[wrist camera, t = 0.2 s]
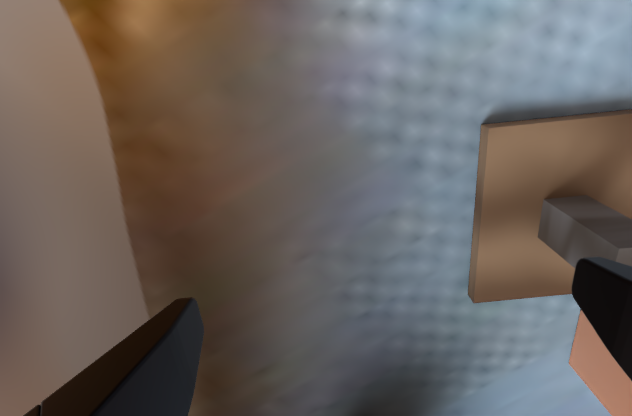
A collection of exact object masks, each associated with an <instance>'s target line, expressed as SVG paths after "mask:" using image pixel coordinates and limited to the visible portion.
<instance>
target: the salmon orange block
mask: <svg viewBox="0 0 632 416" xmlns="http://www.w3.org/2000/svg"><path fill="white" fill-rule="evenodd" d="M569 364H570V366H571V367H572V368H573V369H574V370H575V372H576V373H577V374H578V375H579V376H580V378H581V379H582V380H583V381H584V382H585V384H586V385H587V386H588V387H589V389H590V390H591V391H592V392H593V393H594V395H595V396H596V397H597V398H598V399H599V401H600V402H601V403H602V404H603V406H604V407H605V408H606V409H607V410H608V412H609V413H610V414H611V415H612V416H632V381H631V380H630V378H629V377H628V376H627V375H626V373H625V372H624V371H623V370H622V368H621V367H620V366H619V365H618V363H617V362H616V361H615V359H614V358H613V357H612V355H611V354H610V352H609V351H608V350H607V348H606V347H605V345H604V344H603V342H602V341H601V339H600V338H599V336H598V334H597V333H596V331H595V330H594V328H593V327H592V325H591V324H590V322H589V321H588V319H587V318H586V316H585V315H584V313H583V311H582V310H581V311H580V316H579V320H578V324H577V329H576V333H575V338H574V342H573V346H572V351H571V355H570V359H569Z"/></svg>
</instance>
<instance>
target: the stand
mask: <svg viewBox="0 0 632 416" xmlns="http://www.w3.org/2000/svg"><path fill="white" fill-rule="evenodd" d="M595 256H598V257H603V258H606V259H609V260H613V261H616V262H619V263H622V264H626V265H629V266H632V109H630V110H620V111H610V112H600V113H590V114H581V115H571V116H561V117H551V118H542V119H532V120H522V121H512V122H502V123H493V124H483V125H481V134H480V147H479V159H478V172H477V185H476V197H475V210H474V223H473V235H472V248H471V261H470V274H469V286H468V295H469V297H470V298H471V300H472V301H473V303H480V302H491V301H501V300H512V299H522V298H532V297H543V296H553V295H564V294H572V289H571V288H572V282H573V277H574V272H575V267H576V263H577V261H578V260H579V259H581V258H586V257H595Z"/></svg>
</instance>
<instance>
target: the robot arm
mask: <svg viewBox="0 0 632 416" xmlns="http://www.w3.org/2000/svg"><path fill="white" fill-rule="evenodd" d="M571 289H572V295H573V297H574V299H575V301H576V302H577V304H578V305H579V307H580V308H581V310H582V311H583V313H584V315H585V316H586V318H587V319H588V321H589V322H590V324H591V325H592V327H593V328H594V330H595V331H596V333H597V334H598V336H599V338H600V339H601V341H602V342H603V344H604V345H605V347H606V348H607V350H608V351H609V352H610V354H611V355H612V357H613V358H614V359H615V361H616V362H617V363H618V365H619V366H620V367H621V368H622V370H623V371H624V372H625V373H626V375H627V376H628V377H629V378H630V380H631V381H632V266H629V265H626V264H622V263H619V262H616V261H613V260H609V259H606V258H603V257H598V256H595V257H586V258H581V259H579V260H578V261H577V263H576V267H575V272H574V277H573V282H572V288H571ZM203 335H204V327H203V322H202V319H201V315H200V312H199V308H198V304H197V301H196V300H195V299H194V298H192V297H191V298H181V299H176V300H175V301H173V302H172V303H171V304H169V305H168V306H167V307H166V308H164V309H163V310H162V311H160V312H159V313H158V314H156V315H155V316H154V317H152V318H151V319H150V320H148V321H147V322H146V323H144V324H143V325H142V326H141V327H139V328H138V329H137V330H135V331H134V332H133V333H132V334H130V335H129V336H128V337H126V338H125V339H123V340H122V341H121V342H119V343H118V344H117V345H116V346H114V347H113V348H112V349H111V350H109V351H108V352H106V353H105V354H104V355H103V356H101V357H100V358H99V359H97V360H96V361H95V362H94V363H92V364H91V365H89V366H88V367H87V368H85V369H84V370H83V371H81V372H80V373H79V374H78V375H76V376H75V377H73V378H72V379H71V380H70V381H68V382H67V383H66V384H64V385H63V386H62V387H61V388H59V389H58V390H56V391H55V392H54V393H52V394H51V395H50V396H49V397H47V398H46V399H45V400H43V401H42V402H41V405H37V406H35V407H34V408H33V409H31V410H30V411H29V412H27V413H26V414H25V415H23V416H188V412H189V409H190V405H191V401H192V398H193V393H194V388H195V382H196V376H197V371H198V365H199V359H200V353H201V347H202V341H203Z"/></svg>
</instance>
